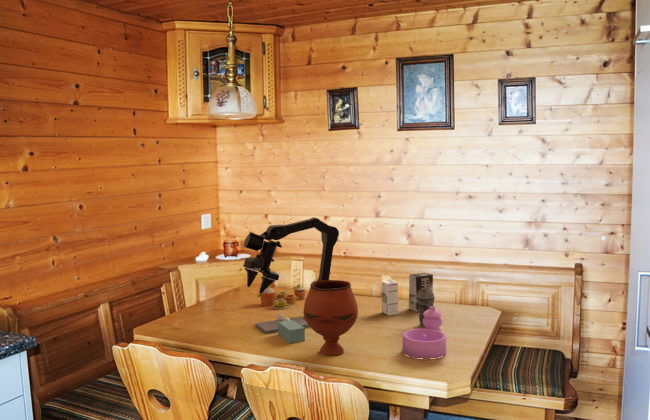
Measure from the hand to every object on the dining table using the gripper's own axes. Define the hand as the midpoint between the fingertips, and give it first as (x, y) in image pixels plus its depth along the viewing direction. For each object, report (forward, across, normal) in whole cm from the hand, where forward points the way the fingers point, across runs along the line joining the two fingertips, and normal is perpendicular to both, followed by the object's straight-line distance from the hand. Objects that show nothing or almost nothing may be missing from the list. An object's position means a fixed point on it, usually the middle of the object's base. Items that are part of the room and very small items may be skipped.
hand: (254, 289), depth 239 cm
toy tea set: (+6, -19, +34) cm, 39 cm away
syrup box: (-8, +28, +54) cm, 62 cm away
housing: (+10, +26, +5) cm, 29 cm away
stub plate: (+10, +12, +11) cm, 19 cm away
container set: (-4, +69, +31) cm, 75 cm away
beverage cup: (-10, +50, +51) cm, 72 cm away
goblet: (+8, +49, +4) cm, 50 cm away
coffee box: (-14, +33, +68) cm, 77 cm away
